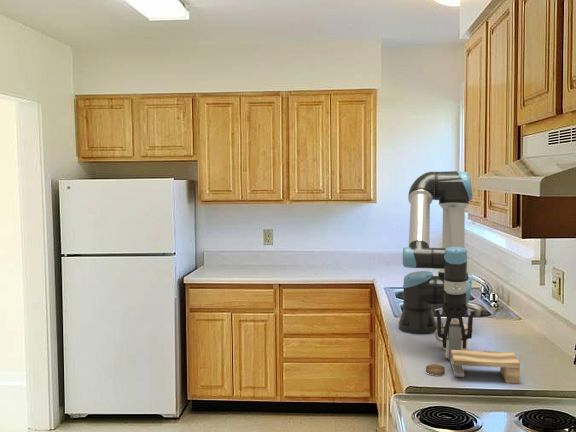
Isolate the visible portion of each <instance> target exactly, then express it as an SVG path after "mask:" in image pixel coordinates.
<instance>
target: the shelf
mask: <svg viewBox="0 0 576 432" xmlns="http://www.w3.org/2000/svg"><path fill="white" fill-rule="evenodd" d="M451 356H452V359H453V363H454V365H462V367H463V366H464V367H465V366H466V367H467V366H468V367H486V368H487V367H488V368H499V371H500V373H501V375H502V377H503V379H504V381H505V383H506V384H509V383H511V384H520V377H521V376H520V374H521V373H520V372H521V370H520V368H521V363H520V361H519V359H518V358H517V356H516V354H515V353H514V351H491V350H490V351H489V350H487V351H486V350H471V349H470V350H468V349H467V350H451Z"/></svg>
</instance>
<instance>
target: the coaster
mask: <svg viewBox="0 0 576 432" xmlns="http://www.w3.org/2000/svg"><path fill="white" fill-rule="evenodd" d="M445 371H446V368H445V366H443V365H441V364H438V363H437V364H435V363H430V364H427V365H426V366H425V373H426V372H427V373H429V374H433V375H442V376H444V375H445V374H446V372H445ZM427 373H426V374H427ZM444 373H445V374H444ZM429 374H428V375H429ZM443 374H444V375H443Z"/></svg>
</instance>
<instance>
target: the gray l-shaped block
mask: <svg viewBox="0 0 576 432" xmlns="http://www.w3.org/2000/svg"><path fill="white" fill-rule="evenodd" d="M448 339H449V358H447V359H448V361H449V362H450V364H451V367H452V371H453V374H454V377H461V378H464V377H465V371H464V368H463V365H454V363H453V359H452V356H451V350H461V327H460V325H459V324H450V326H449V331H448Z"/></svg>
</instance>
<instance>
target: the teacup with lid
mask: <svg viewBox="0 0 576 432" xmlns="http://www.w3.org/2000/svg"><path fill="white" fill-rule="evenodd" d="M445 323H446V322H444V323H443V324H442V328H441V332H442V333H443V332H444V327H445ZM450 324H459V320H458V319H456V318H454V319H452V320H451V322H450ZM463 324H464V329H465V334H467V330H468V324H466V323H464V322H463ZM433 333H434V334H433V335H434V338H435V340H436V341H437V342H439V343H443V339H441V338H439V337H438V334H437V329H436V331H435V332H433ZM447 338H448V335H447ZM461 338H462V334H461ZM442 350H443V351H445V352H446V348H443V347H442ZM463 350H468V339H467V340H466V348H465V349H463Z"/></svg>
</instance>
